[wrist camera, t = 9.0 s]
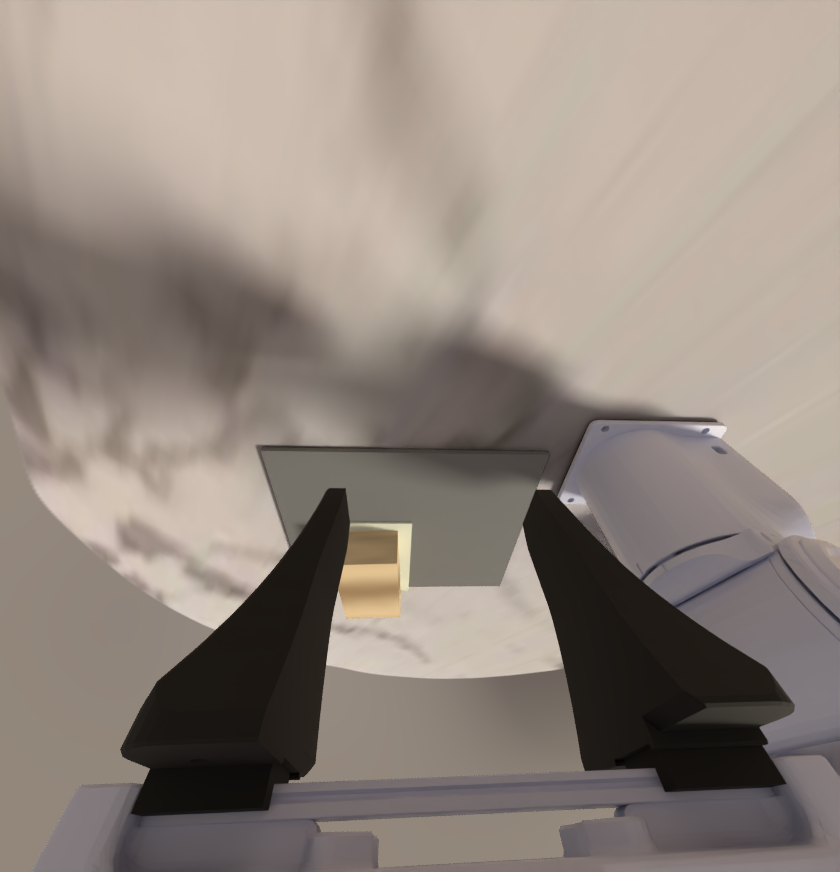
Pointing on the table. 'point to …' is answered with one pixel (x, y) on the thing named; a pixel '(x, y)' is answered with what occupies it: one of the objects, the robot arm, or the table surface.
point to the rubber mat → (418, 503)
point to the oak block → (371, 575)
